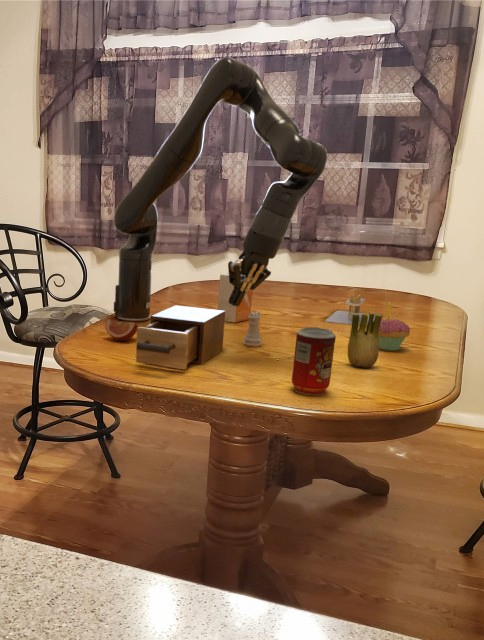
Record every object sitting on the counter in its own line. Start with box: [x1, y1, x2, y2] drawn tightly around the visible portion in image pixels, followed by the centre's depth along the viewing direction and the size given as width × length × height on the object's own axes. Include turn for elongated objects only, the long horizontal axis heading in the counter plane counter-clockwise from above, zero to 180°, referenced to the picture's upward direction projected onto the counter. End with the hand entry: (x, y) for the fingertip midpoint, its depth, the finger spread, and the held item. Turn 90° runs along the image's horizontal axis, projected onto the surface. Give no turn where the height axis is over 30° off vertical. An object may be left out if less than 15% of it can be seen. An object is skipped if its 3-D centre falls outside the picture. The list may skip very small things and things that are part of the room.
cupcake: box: [379, 299, 411, 352], centre depth 164 cm, size 9×8×12 cm
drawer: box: [135, 320, 201, 370], centre depth 150 cm, size 18×11×8 cm, turn 149°
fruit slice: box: [104, 318, 139, 342], centre depth 173 cm, size 8×7×5 cm
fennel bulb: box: [347, 311, 383, 369], centre depth 150 cm, size 6×5×12 cm
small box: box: [217, 272, 254, 323], centre depth 195 cm, size 8×6×13 cm
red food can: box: [291, 326, 336, 396], centre depth 133 cm, size 7×7×12 cm
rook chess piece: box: [243, 311, 263, 348], centre depth 168 cm, size 4×4×8 cm
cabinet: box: [150, 304, 226, 365], centre depth 160 cm, size 15×13×10 cm
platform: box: [325, 293, 377, 327], centre depth 198 cm, size 12×18×7 cm, turn 148°
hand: (233, 304), depth 155 cm, fingers closed
